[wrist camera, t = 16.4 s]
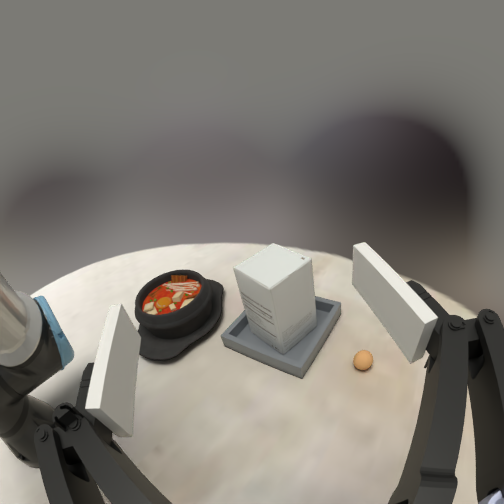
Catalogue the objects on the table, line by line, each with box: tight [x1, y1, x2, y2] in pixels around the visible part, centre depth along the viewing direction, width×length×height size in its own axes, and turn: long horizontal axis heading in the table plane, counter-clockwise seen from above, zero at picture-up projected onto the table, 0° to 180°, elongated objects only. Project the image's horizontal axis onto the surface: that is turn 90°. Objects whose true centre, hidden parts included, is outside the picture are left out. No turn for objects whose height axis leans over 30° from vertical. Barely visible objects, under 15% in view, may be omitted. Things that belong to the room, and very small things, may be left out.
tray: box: [221, 296, 341, 379], centre depth 50 cm, size 16×16×3 cm
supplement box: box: [233, 243, 317, 354], centre depth 47 cm, size 9×9×15 cm
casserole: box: [135, 270, 224, 360], centre depth 57 cm, size 25×19×8 cm
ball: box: [353, 350, 373, 370], centre depth 40 cm, size 3×3×3 cm
